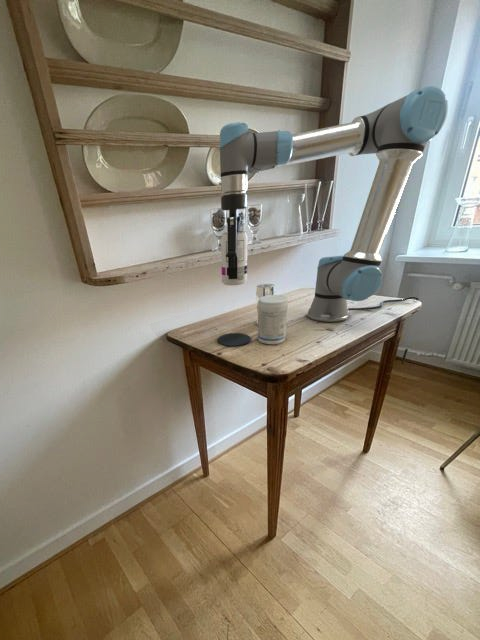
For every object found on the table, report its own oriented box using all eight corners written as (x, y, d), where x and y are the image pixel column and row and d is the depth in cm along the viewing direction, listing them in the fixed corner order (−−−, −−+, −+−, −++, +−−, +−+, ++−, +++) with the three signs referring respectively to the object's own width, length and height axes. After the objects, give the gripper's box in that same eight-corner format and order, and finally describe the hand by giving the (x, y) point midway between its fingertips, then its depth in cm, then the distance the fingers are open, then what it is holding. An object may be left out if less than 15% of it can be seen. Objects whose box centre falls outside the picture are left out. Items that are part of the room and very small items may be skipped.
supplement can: (216, 284, 99) (215, 234, 91) (232, 279, 104) (232, 231, 96) (236, 286, 94) (236, 233, 86) (251, 281, 98) (253, 230, 91)
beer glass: (259, 320, 125) (260, 283, 118) (275, 321, 122) (277, 284, 114) (252, 325, 121) (253, 287, 113) (268, 327, 117) (270, 288, 109)
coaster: (239, 331, 115) (240, 330, 115) (257, 341, 106) (257, 340, 105) (212, 338, 112) (212, 337, 112) (227, 349, 102) (227, 348, 102)
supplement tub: (259, 334, 111) (260, 294, 104) (285, 335, 108) (288, 294, 101) (255, 344, 103) (256, 302, 96) (284, 346, 100) (287, 302, 93)
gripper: (225, 196, 96) (226, 270, 107) (215, 194, 78) (218, 283, 90) (249, 194, 94) (247, 269, 105) (244, 191, 77) (243, 282, 88)
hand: (234, 276), depth 97 cm, fingers closed on supplement can, 8 cm apart
